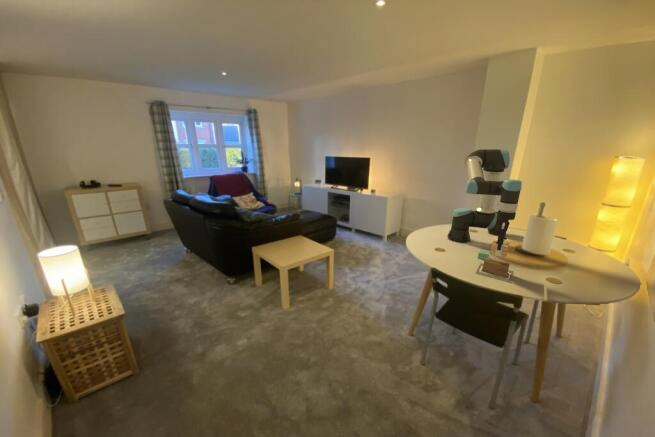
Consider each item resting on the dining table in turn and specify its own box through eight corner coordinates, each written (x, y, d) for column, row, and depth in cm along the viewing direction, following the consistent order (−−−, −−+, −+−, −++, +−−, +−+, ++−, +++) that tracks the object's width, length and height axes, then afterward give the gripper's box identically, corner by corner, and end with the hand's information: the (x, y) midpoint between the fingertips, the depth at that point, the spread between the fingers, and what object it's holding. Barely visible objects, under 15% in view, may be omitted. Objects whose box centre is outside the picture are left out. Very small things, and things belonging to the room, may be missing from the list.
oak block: (491, 250, 139) (493, 239, 138) (507, 253, 135) (509, 242, 133) (489, 254, 134) (491, 243, 133) (505, 257, 130) (508, 246, 128)
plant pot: (503, 232, 205) (507, 212, 200) (507, 238, 192) (511, 217, 187) (482, 229, 211) (485, 210, 206) (484, 235, 198) (487, 215, 193)
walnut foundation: (483, 267, 143) (485, 257, 141) (507, 273, 136) (509, 263, 135) (482, 271, 139) (484, 261, 137) (506, 277, 132) (508, 267, 131)
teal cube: (478, 257, 159) (480, 250, 158) (488, 259, 156) (489, 252, 155) (477, 260, 155) (478, 252, 154) (486, 262, 152) (488, 254, 151)
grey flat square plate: (480, 265, 149) (480, 262, 149) (513, 273, 139) (514, 271, 139) (474, 275, 137) (475, 273, 137) (511, 285, 127) (511, 283, 127)
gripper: (500, 206, 138) (492, 245, 144) (495, 213, 123) (487, 257, 129) (517, 208, 134) (508, 249, 140) (514, 216, 119) (505, 261, 125)
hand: (498, 253), depth 135 cm, fingers closed on oak block, 7 cm apart
